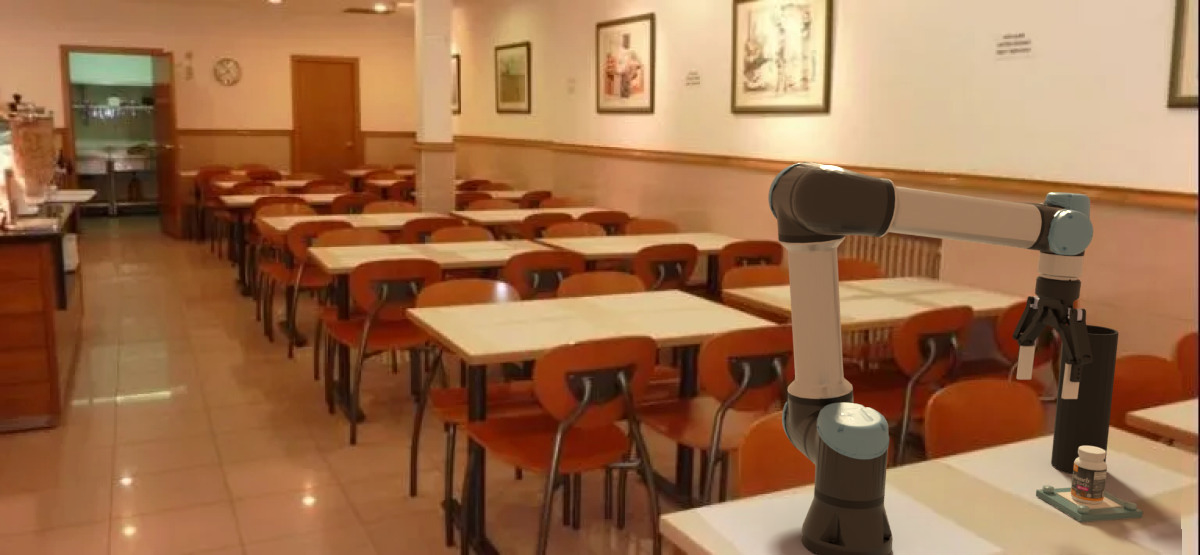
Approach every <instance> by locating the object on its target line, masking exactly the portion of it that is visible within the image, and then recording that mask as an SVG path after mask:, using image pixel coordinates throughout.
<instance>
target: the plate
mask: <svg viewBox="0 0 1200 555" xmlns="http://www.w3.org/2000/svg"><path fill="white" fill-rule="evenodd" d="M1035 496H1036V497H1038V498H1039V499H1041V500H1043V501H1045V502H1046V503H1047V504H1049V505H1051V506H1052V507H1055V508H1056V509H1058V510H1059V511H1061V512H1063V513H1064V514H1066V515H1068V516H1070V517H1071V518H1073V519H1074V520H1076V521H1078V522H1080V523H1084V522H1085V523H1086V522H1098V521H1099V522H1100V521H1111V520H1114V521H1115V520H1124V519H1125V520H1127V519H1139V518H1141V519H1142V518H1143V513H1144V511H1143V510H1141V509H1139V508H1138V507H1137V503H1136V502H1132V501H1125V500H1122V499H1120V498H1118V497H1117V496H1114V495H1113V494H1111V493H1109V492H1108V491H1106V490H1105V491H1104V499H1103V501H1102V502H1101V503H1099V504H1087V503H1083V502H1079V501H1077V500H1075V499H1073V498H1072V496H1071V487H1058V488H1055V487H1054V486H1052V485H1049V484H1048V485H1046V484H1045V485H1042V489H1036V491H1035Z"/></svg>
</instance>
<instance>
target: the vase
mask: <svg viewBox="0 0 1200 555" xmlns="http://www.w3.org/2000/svg"><path fill="white" fill-rule="evenodd" d="M1086 326H1087V331H1088V336H1089V341H1090V347H1091V352H1092V357H1093V362H1092V363H1087V364H1084V365H1083V368H1082V376H1081V381H1080V382H1079V389H1078V397H1077V399H1063V398H1061V397H1062V389H1063V380H1064V372H1065V364H1066V362H1067V361H1069V359H1068V357H1067V354H1066V351H1065V348H1064V346H1063V343H1062V342H1061V351H1060V361H1059V362H1060V363H1059V373H1058V384H1057V385H1058V386H1057V397H1056V405H1055V416H1054V428H1053V429H1054V430H1053V437H1052V438H1053V439H1052V449H1051V450H1052V451H1051V460H1050V464H1051V465H1052V467H1053V468H1055V469H1056V470H1059V471H1060V472H1064V473H1067V474H1071V475H1073V468H1074V461H1075V459H1076V458H1078V457H1079V455H1078V448H1079V447H1080V446H1094V447H1098V448H1101V449H1103V450H1105V451H1106V454H1107V451H1108V443H1109V442H1108V441H1109V433H1110V424H1111V423H1110V421H1111V412H1112V403H1113V402H1112V401H1113V393H1114V392H1113V391H1114V380H1115V373H1116V363H1117V362H1116V361H1117V354H1118V344H1119V343H1118V342H1119V331H1118V330H1116V329H1114V328H1110V327H1106V326H1105V327H1104V326H1100V325H1094V324H1093V325H1092V324H1086ZM1084 356H1085V355H1084ZM1075 357H1076V356H1075ZM1103 461H1104V462H1105V463H1106V461H1107V456H1106V457H1105V459H1104V460H1103ZM1106 464H1107V463H1106Z"/></svg>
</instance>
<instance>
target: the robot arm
mask: <svg viewBox="0 0 1200 555" xmlns="http://www.w3.org/2000/svg"><path fill="white" fill-rule="evenodd" d="M767 198H768V205H769V209H770V211H771V213H772V215H773V216H774V218H775V219H776V221H777V222H776V224H777V238H778V240H777V241H778V243H779V244H780V245H782V247H784V248H785V249H786V251H787V258H788V275H789V276H788V277H789V280H788V281H789V294H790V311H791V314H790V315H791V328H792V330H791V331H792V345H793V346H792V347H793V358H794V359H793V362H794V363H793V364H794V375H795V376H794V380H793V381H792V382H791V383H790V384H789V385H788V386H787V400H786V402H785V403H784V405H783V407H782V413H781V422H782V428H783V430H784V433H785V435H786V437H787V438H788V440H789V442H790V443H791V444H792V446H793V447H795V448H796V449H797V450H798V451H799V452H800V453H802V454H803V455H804V456H805V457H806V458H807V459H808V460H809V461H811V463H813V465H814V466H815V469H814V472H815V473H814V489H813V490H814V491H813V499H812V500H811V501H812V502H811V503H810V507H809V509H808V511H807V514H806V516H805V518H804V521H803V523H802V526H801V536H800V537H801V542H802V544H803V545H804V547H805V548H807V549H808V550H809V551H810V552H813V553H814V554H815V555H891V553H892V551H893V534H892V529H891V526H890V522H889V518H888V515H887V511H886V508H885V493H886V481H887V480H886V479H887V467H888V466H887V465H888V455H889V454H888V450H889V446H890V435H889V424H888V421H887V420H886V417H885V416H884V415H883V414H881V412H879V411H877V410H876V409H874V408H872V407H870V406H869V407H867V406H866V407H865V406H864V405H863V404H859V403H854V388H853V384H852V383H850V381H848V380H847V379H846V378H845V377H844V365H843V364H844V362H843V361H844V360H843V340H842V321H841V320H842V319H841V301H840V280H839V278H840V277H839V264H838V262H839V261H838V248H839V246H840V245H841V243H842V242H843V241H844V240H845V239H846V236H862V237H863V236H866V237H874V238H882V237H884V236H885V235H887V234H889V233H894V234H902V235H910V236H911V235H912V236H919V237H927V238H935V239H941V240H942V239H943V240H952V241H958V242H968V243H976V244H984V245H991V246H993V245H994V246H1002V247H1009V248H1015V249H1016V248H1018V249H1027V250H1031V251H1037V252H1039V254H1038V262H1037V270H1036V272H1037V273H1038V274H1040V275H1038V276H1037V277H1036V279H1035V280H1036V282H1035V287H1034V288H1035V291H1034V294H1035V296H1034V295H1033V296H1032V295H1030V296H1028V297H1027V298H1026V303H1025V308H1024V310H1023V312H1022V315H1021V316H1020V319H1019V321H1018V323H1017V325H1016V327H1015V329H1014V332H1013V333H1012V339H1013V341H1014V340H1015V341H1017V345H1018V353H1017V354H1018V356H1017V361H1018V362H1017V370H1016V380H1032V376H1033V367H1034V358H1035V350H1036V347H1035V345H1036V344H1035V341H1036V340H1037V339H1038V338H1039V336H1040V335H1041V334H1042V332H1043V331H1044V330H1045V329H1046V328H1047V326H1050V327H1051V328H1054V330H1055V331H1056V332H1057V333H1058V335H1059V338H1060V339H1061V344H1062V343H1063V346H1064V348H1065V351H1066V354H1067V357H1068V359H1069V361H1067V362H1066V364H1065V372H1064V380H1063V389H1062V397H1061V398H1063V399H1077V397H1078V389H1079V382H1080V381H1081V376H1082V368H1083V365H1084V364H1087V363H1092V362H1093V357H1092V352H1091V347H1090V341H1089V336H1088V331H1087V326H1086V325H1087V322H1086V321H1087V310H1086V309H1085V308H1075V307H1074V302H1076V301H1077V300H1079V299H1080V295H1081V294H1080V293H1081V287H1082V281H1081V280H1080V279H1078V278H1081V277H1082V276H1083V270H1084V268H1083V266H1084V257H1085V252H1086V250H1087V248H1088V247H1089V245H1090V244H1091V242H1092V240H1093V237H1094V226H1093V223H1092V221H1091V217H1090V216H1091V199H1090V197H1089V196H1088V195H1087V194H1084V193H1083V194H1082V193H1073V192H1061V191H1060V192H1054V191H1053V192H1048V193H1047V194H1046V196H1045V199H1044V202H1040V203H1039V202H1023V201H1021V202H1020V201H1010V200H1009V201H1008V200H999V199H994V198H992V199H991V198H985V197H977V196H971V195H962V194H955V193H949V192H948V193H946V192H940V191H931V190H925V189H920V188H918V189H917V188H909V187H904V186H896V185H895V183H894V182H893V180H891V179H889V178H882V177H876V176H872V175H868V174H864V173H859V172H856V171H853V170H850V169H846V168H844V167H841V166H837V165H831V164H823V163H822V164H821V163H818V162H814V161H813V162H811V161H810V162H809V161H808V162H807V161H803V162H797V163H794V164H791V165H789V166H787V167H784V168H783V169H782V170H780V172H778V173H777V175H776V176H775V177H774V178H773V180H772V182H771V183H770V187H769V191H768V197H767ZM1084 355H1085V356H1084ZM1075 356H1076V357H1075Z"/></svg>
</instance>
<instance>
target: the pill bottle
mask: <svg viewBox="0 0 1200 555" xmlns="http://www.w3.org/2000/svg"><path fill="white" fill-rule="evenodd" d="M1078 455H1079V457H1078V458H1076V459H1075V461H1074V468H1073V474H1072V477H1071V486H1070V488H1071V496H1072V498H1073V499H1075V500H1077V501H1079V502H1083V503H1087V504H1099V503H1101V502H1102V501H1103V499H1104V491H1105V492H1106V489H1105V488H1106V481H1107V473H1108V465H1107V463H1105V462H1104V461H1103V460H1104V459H1105V457H1106V458H1107V453H1106V451H1105V450H1103V449H1101V448H1098V447H1094V446H1080V447H1079V448H1078Z"/></svg>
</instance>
